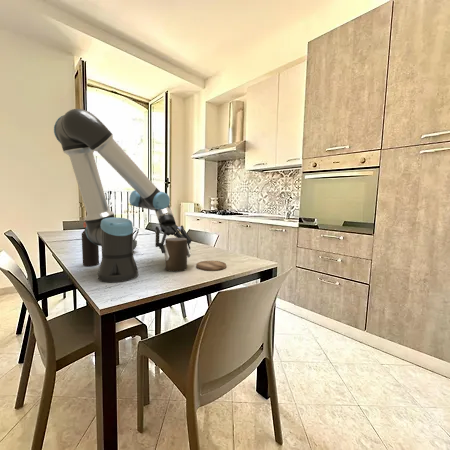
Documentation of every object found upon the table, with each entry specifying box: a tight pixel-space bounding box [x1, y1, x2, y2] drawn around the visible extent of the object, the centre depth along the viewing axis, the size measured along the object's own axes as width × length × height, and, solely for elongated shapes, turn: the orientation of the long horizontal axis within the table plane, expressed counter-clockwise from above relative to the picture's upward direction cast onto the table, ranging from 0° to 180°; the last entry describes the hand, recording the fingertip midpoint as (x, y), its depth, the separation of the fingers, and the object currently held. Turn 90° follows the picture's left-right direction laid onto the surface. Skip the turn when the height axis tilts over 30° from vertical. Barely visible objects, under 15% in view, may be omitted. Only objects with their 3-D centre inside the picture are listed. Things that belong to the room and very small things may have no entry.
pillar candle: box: [164, 237, 188, 273], centre depth 116 cm, size 10×10×15 cm
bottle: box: [81, 221, 100, 267], centre depth 120 cm, size 7×7×20 cm
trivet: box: [195, 260, 227, 272], centre depth 121 cm, size 14×14×1 cm
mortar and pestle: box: [133, 239, 138, 254], centre depth 147 cm, size 11×9×12 cm
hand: (178, 257), depth 114 cm, fingers closed on pillar candle, 10 cm apart
